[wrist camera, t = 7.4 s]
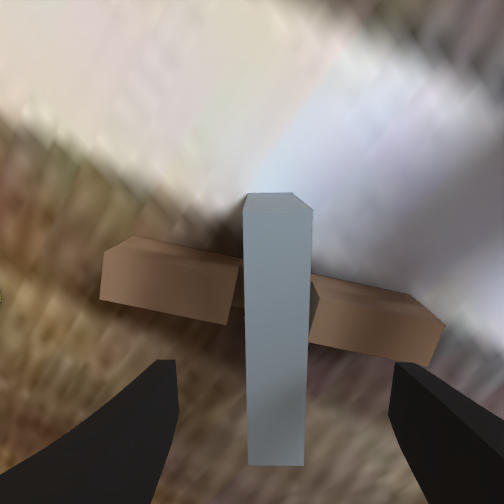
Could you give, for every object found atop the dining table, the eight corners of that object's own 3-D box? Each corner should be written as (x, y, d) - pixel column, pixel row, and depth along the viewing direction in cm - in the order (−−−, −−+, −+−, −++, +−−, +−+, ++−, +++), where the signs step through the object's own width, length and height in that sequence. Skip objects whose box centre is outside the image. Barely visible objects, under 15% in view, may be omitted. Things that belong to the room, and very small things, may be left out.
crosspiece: (288, 367, 22) (303, 465, 15) (251, 367, 22) (248, 465, 15) (291, 192, 19) (312, 209, 12) (248, 193, 19) (242, 210, 12)
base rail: (410, 294, 21) (445, 324, 17) (396, 330, 21) (427, 366, 17) (133, 235, 20) (103, 252, 16) (129, 274, 21) (99, 299, 17)
